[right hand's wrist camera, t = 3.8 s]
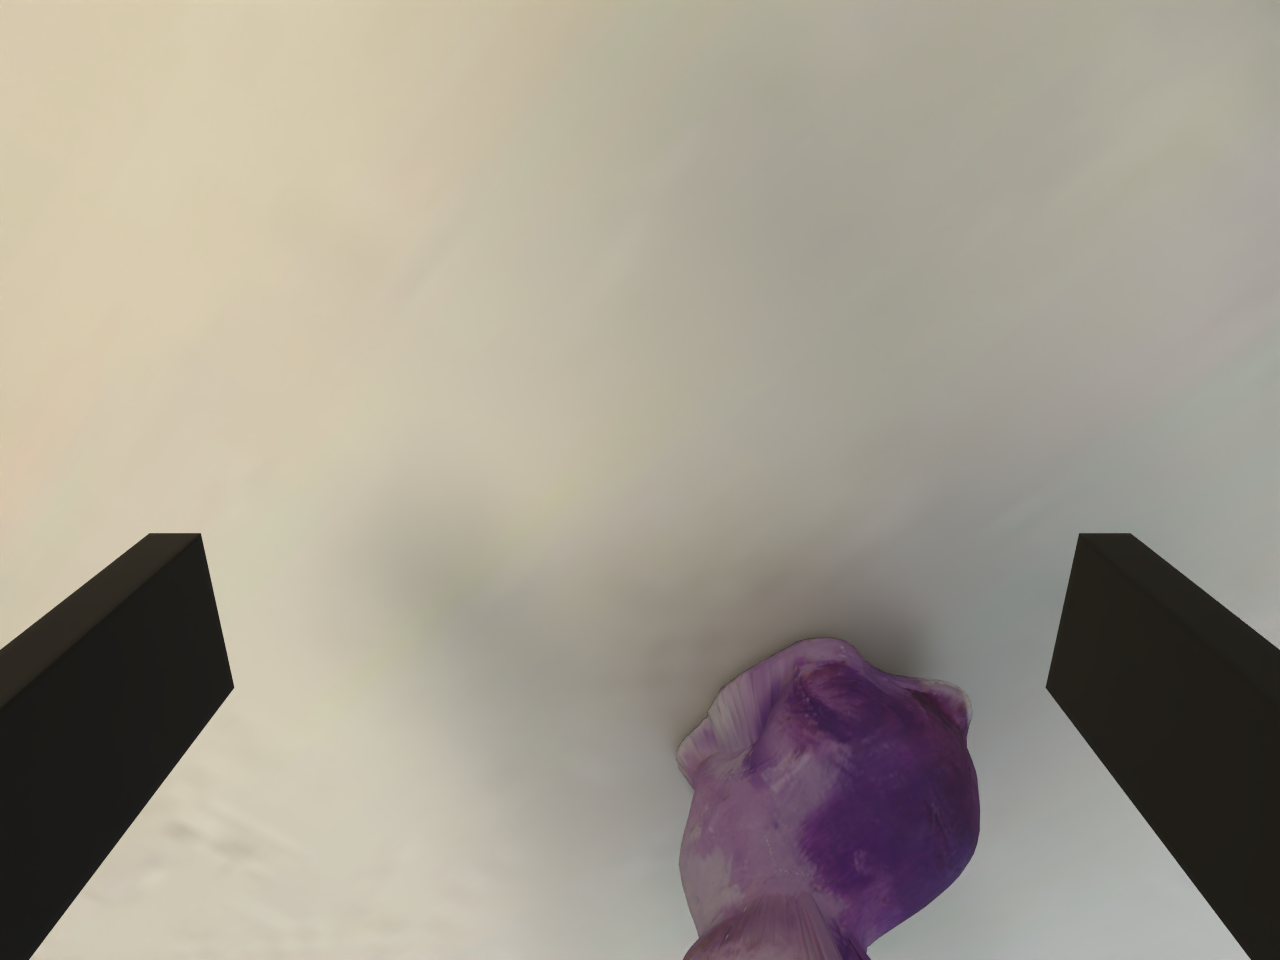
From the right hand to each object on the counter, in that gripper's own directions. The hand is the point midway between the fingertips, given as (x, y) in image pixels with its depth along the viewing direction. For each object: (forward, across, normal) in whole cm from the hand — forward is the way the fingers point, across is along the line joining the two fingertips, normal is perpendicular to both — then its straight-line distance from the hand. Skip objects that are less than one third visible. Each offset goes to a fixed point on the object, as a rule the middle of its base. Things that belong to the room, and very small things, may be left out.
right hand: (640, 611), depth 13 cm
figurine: (+15, +6, -14) cm, 21 cm away
